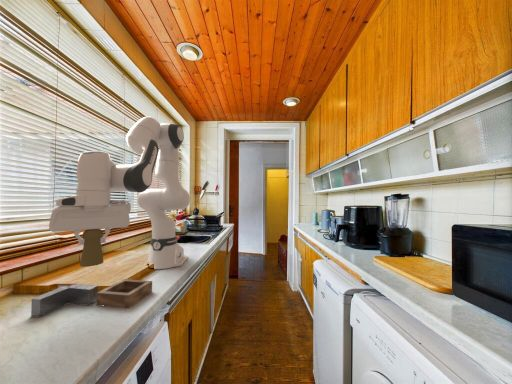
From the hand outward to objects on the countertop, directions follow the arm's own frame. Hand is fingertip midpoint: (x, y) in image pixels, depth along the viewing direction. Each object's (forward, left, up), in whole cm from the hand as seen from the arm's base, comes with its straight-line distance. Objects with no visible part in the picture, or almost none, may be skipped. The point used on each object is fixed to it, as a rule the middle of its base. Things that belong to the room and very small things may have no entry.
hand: (92, 243), depth 68 cm
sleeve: (-6, +7, -20) cm, 22 cm away
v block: (+1, -8, -20) cm, 21 cm away
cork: (0, 0, -7) cm, 7 cm away
